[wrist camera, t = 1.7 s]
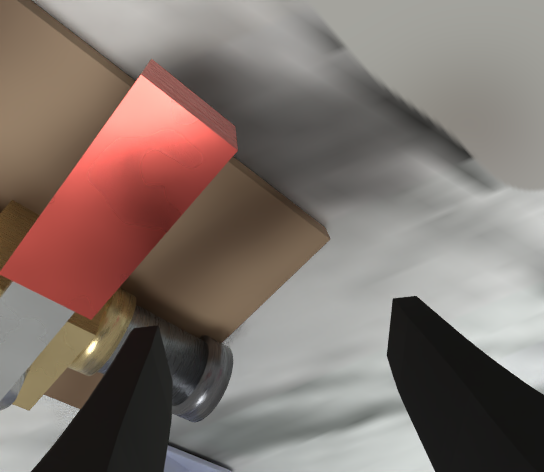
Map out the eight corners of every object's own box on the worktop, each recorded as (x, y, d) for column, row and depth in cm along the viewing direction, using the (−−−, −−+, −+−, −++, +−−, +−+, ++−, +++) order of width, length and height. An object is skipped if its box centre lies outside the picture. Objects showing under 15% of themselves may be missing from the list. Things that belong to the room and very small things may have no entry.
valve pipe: (238, 325, 23) (243, 406, 19) (181, 379, 24) (173, 466, 20) (-180, 84, 15) (-328, 130, 11) (-222, 185, 17) (-367, 258, 13)
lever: (11, 389, 16) (-12, 439, 15) (-64, 359, 15) (-99, 409, 14) (235, 124, 12) (237, 150, 10) (152, 57, 11) (141, 74, 9)
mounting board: (325, 228, 21) (330, 239, 20) (133, 414, 26) (130, 429, 26) (-202, -179, 12) (-232, -190, 12) (-332, 218, 18) (-359, 231, 17)
